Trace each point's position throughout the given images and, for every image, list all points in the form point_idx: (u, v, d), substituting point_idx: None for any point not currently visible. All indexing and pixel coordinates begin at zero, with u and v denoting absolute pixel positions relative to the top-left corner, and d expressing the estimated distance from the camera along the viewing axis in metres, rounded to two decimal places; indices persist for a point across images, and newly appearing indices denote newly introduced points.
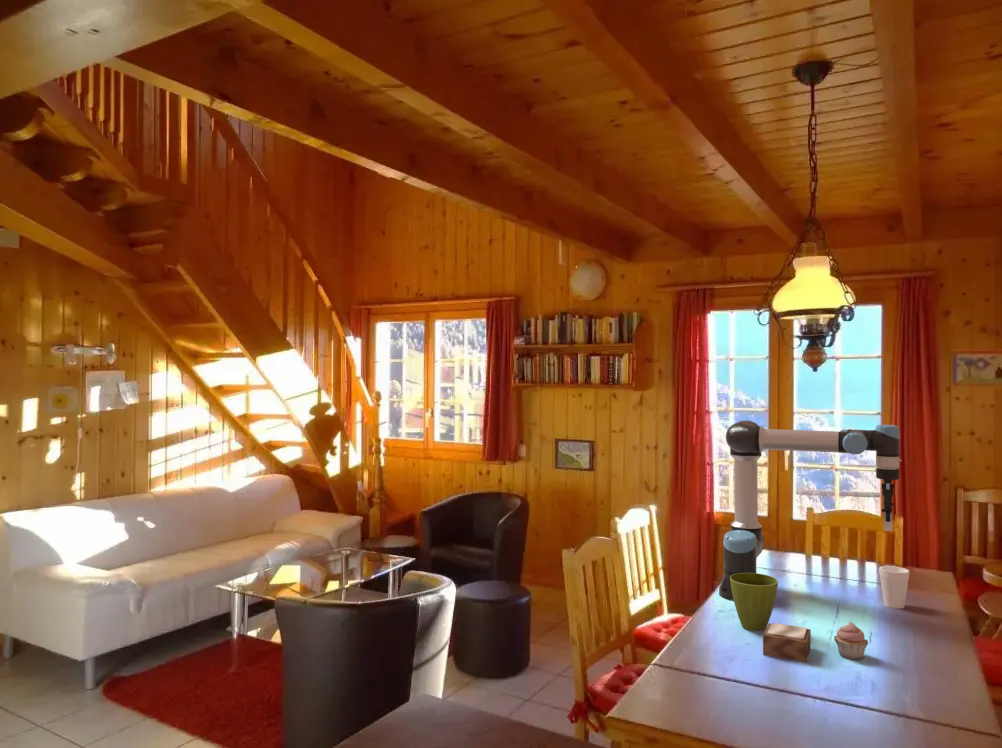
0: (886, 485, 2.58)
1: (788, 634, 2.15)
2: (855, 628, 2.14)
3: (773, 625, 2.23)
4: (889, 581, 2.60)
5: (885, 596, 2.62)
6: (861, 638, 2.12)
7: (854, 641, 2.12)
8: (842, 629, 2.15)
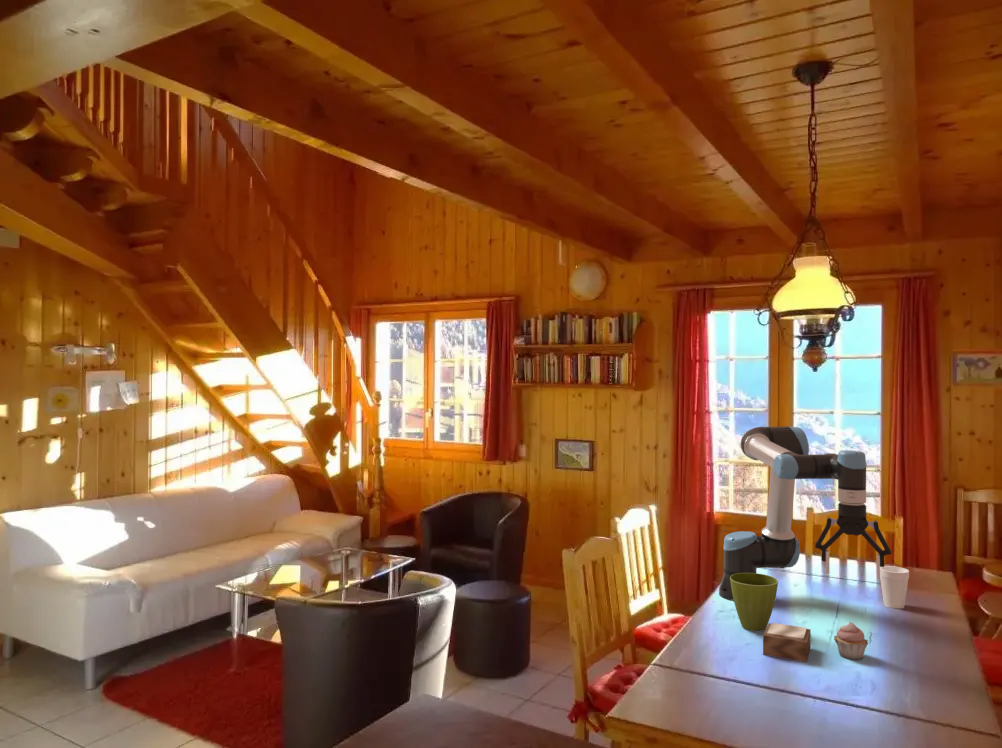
0: (827, 519, 2.21)
1: (788, 634, 2.15)
2: (855, 628, 2.14)
3: (773, 625, 2.23)
4: (889, 581, 2.60)
5: (885, 596, 2.62)
6: (861, 638, 2.12)
7: (854, 641, 2.12)
8: (842, 629, 2.15)
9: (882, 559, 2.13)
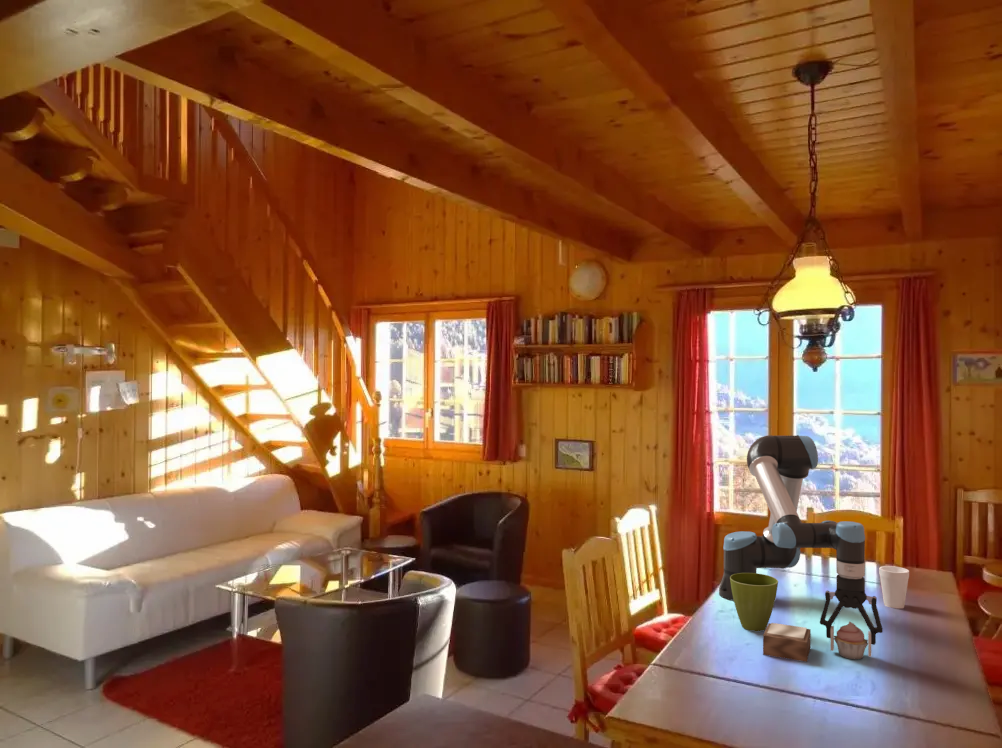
0: None
1: (788, 634, 2.15)
2: (855, 628, 2.14)
3: (773, 625, 2.23)
4: (889, 581, 2.60)
5: (885, 596, 2.62)
6: (861, 638, 2.12)
7: (854, 641, 2.12)
8: (842, 629, 2.15)
9: (873, 637, 2.12)
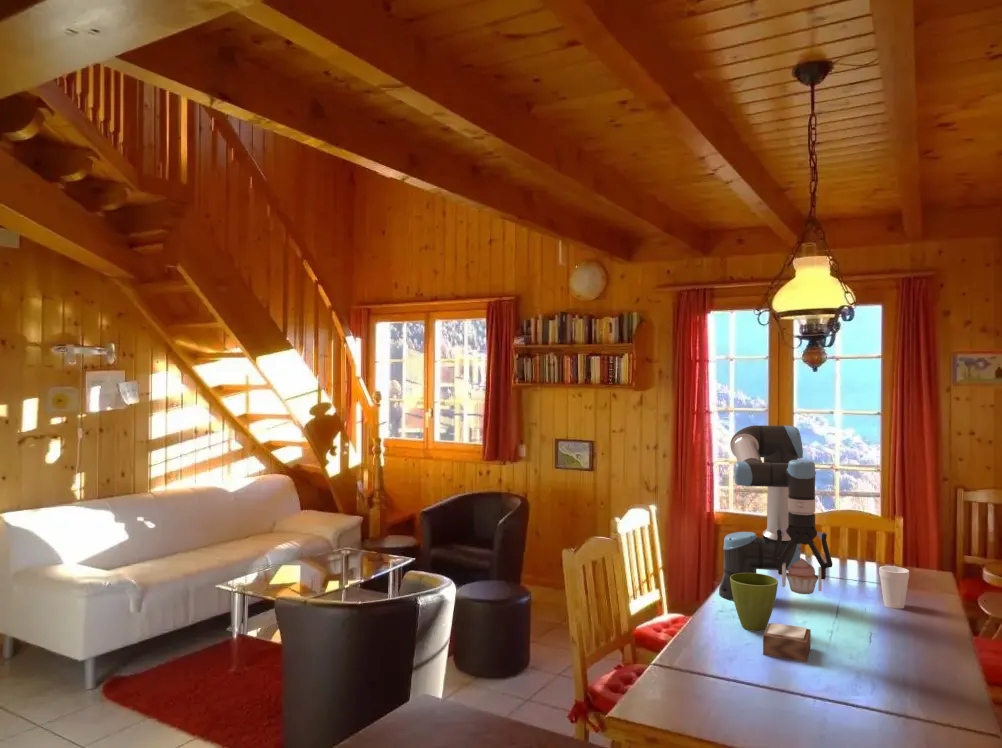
0: None
1: (788, 634, 2.15)
2: (806, 564, 2.17)
3: (773, 625, 2.23)
4: (889, 581, 2.60)
5: (885, 596, 2.62)
6: (811, 573, 2.15)
7: (805, 576, 2.15)
8: (793, 565, 2.18)
9: (823, 572, 2.15)
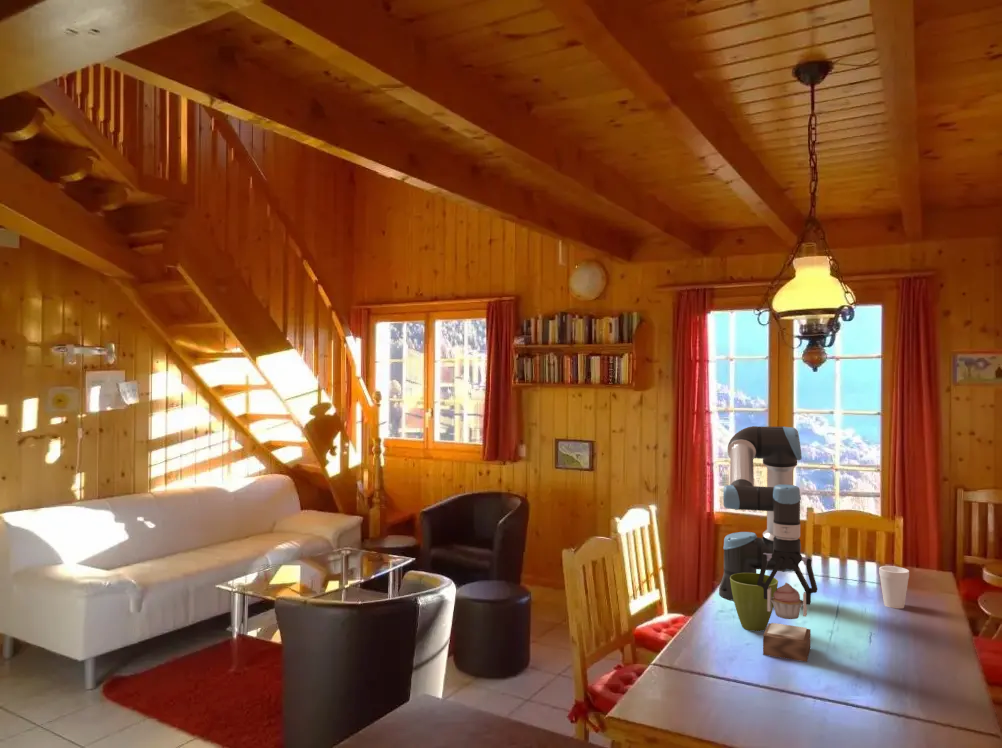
0: None
1: (788, 634, 2.15)
2: (790, 588, 2.17)
3: (773, 625, 2.23)
4: (889, 581, 2.60)
5: (885, 596, 2.62)
6: (796, 598, 2.16)
7: (789, 601, 2.15)
8: (778, 590, 2.19)
9: (808, 597, 2.16)
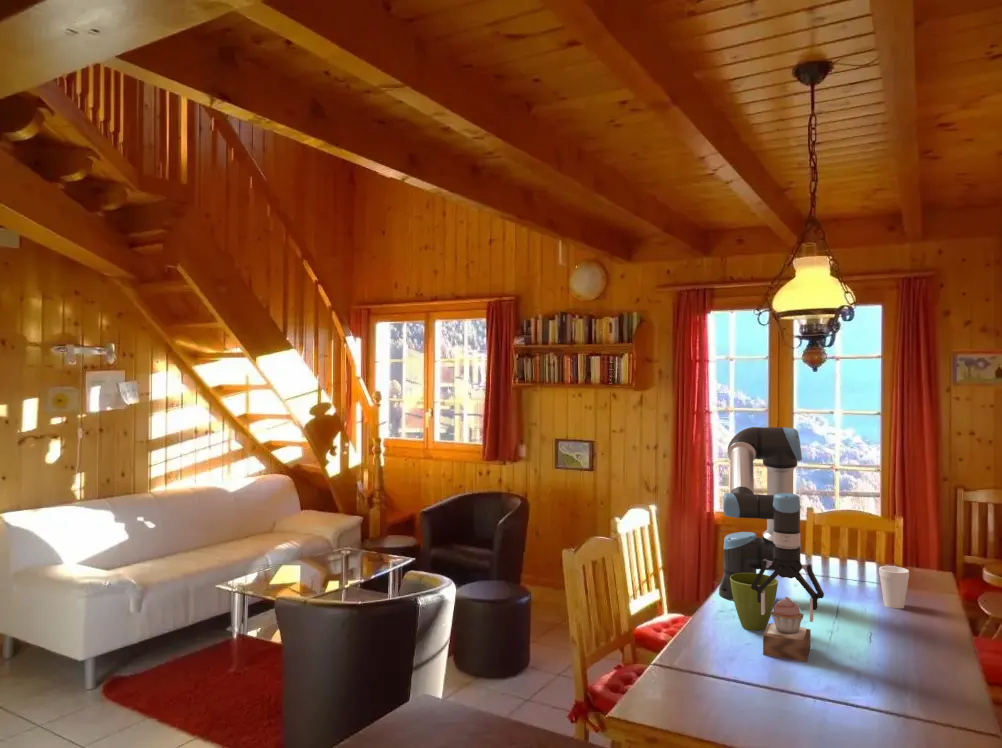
0: None
1: (788, 634, 2.15)
2: (790, 603, 2.17)
3: (773, 625, 2.23)
4: (889, 581, 2.60)
5: (885, 596, 2.62)
6: (796, 612, 2.16)
7: (789, 615, 2.15)
8: (778, 604, 2.19)
9: (815, 602, 2.15)
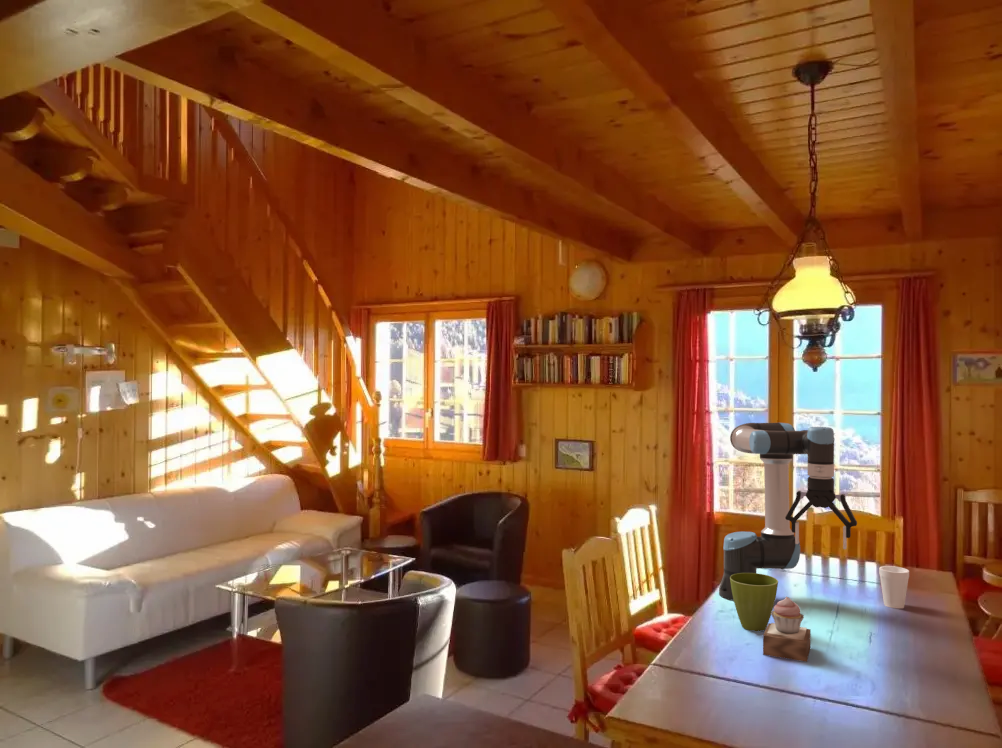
0: None
1: (788, 634, 2.15)
2: (791, 603, 2.17)
3: (773, 625, 2.23)
4: (889, 581, 2.60)
5: (885, 596, 2.62)
6: (796, 612, 2.16)
7: (789, 615, 2.15)
8: (779, 604, 2.19)
9: (848, 530, 2.22)
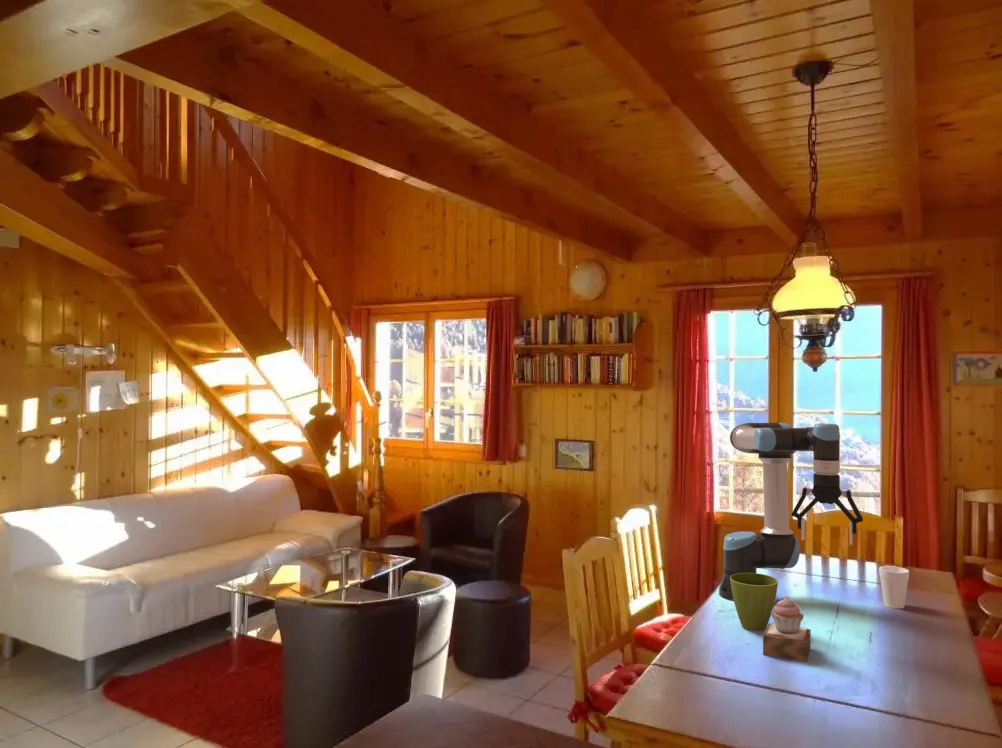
0: None
1: (788, 634, 2.15)
2: (791, 603, 2.17)
3: (773, 625, 2.23)
4: (889, 581, 2.60)
5: (885, 596, 2.62)
6: (796, 612, 2.16)
7: (789, 615, 2.15)
8: (778, 604, 2.19)
9: (854, 526, 2.23)
